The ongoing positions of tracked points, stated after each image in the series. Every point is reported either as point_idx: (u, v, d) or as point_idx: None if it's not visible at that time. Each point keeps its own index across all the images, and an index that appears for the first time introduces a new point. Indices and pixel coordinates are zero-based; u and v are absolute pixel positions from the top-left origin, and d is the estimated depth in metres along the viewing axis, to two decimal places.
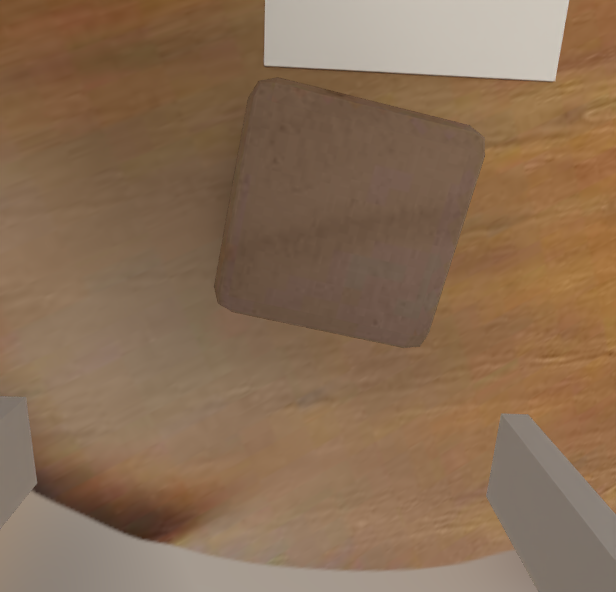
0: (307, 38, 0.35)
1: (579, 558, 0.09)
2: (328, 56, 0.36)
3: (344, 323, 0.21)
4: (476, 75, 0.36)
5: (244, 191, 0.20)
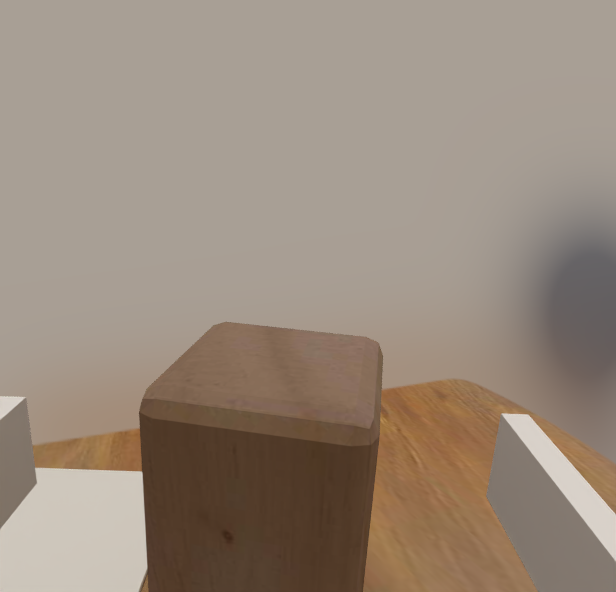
0: None
1: (579, 558, 0.09)
2: None
3: (365, 360, 0.23)
4: None
5: (243, 403, 0.19)
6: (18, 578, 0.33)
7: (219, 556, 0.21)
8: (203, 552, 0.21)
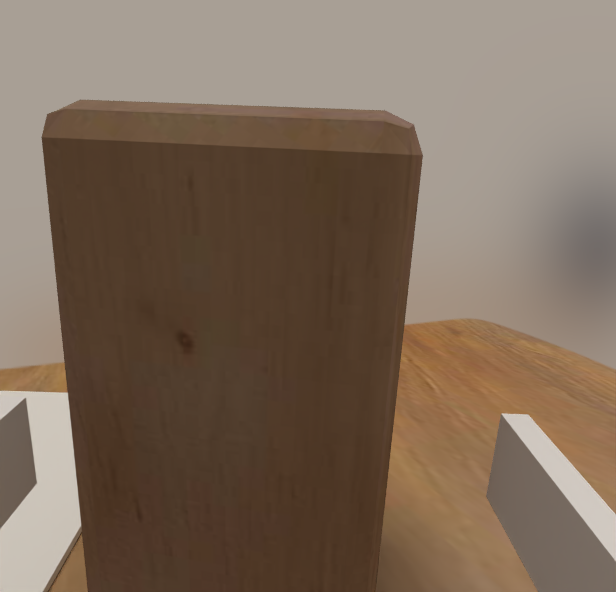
0: None
1: (579, 558, 0.09)
2: (26, 585, 0.21)
3: None
4: None
5: (204, 109, 0.12)
6: None
7: (173, 377, 0.13)
8: (149, 373, 0.14)
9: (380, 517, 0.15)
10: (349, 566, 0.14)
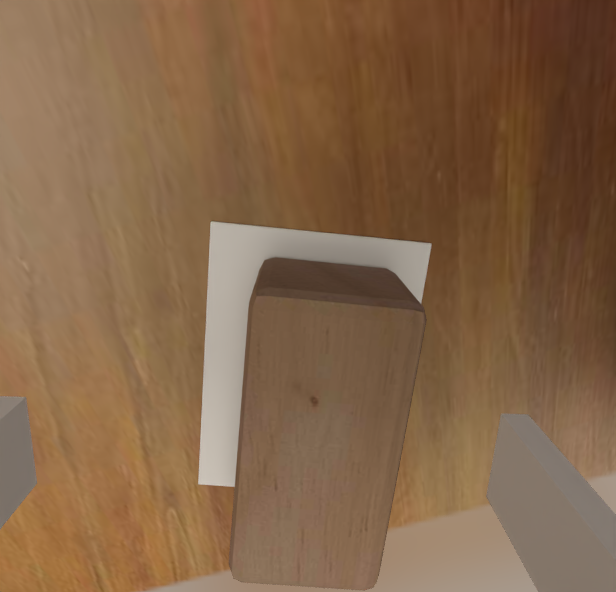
0: (235, 267, 0.35)
1: (579, 558, 0.09)
2: (219, 287, 0.36)
3: (396, 279, 0.32)
4: (202, 420, 0.39)
5: (333, 297, 0.26)
6: None
7: (305, 417, 0.28)
8: (293, 416, 0.28)
9: (396, 480, 0.30)
10: (382, 504, 0.30)
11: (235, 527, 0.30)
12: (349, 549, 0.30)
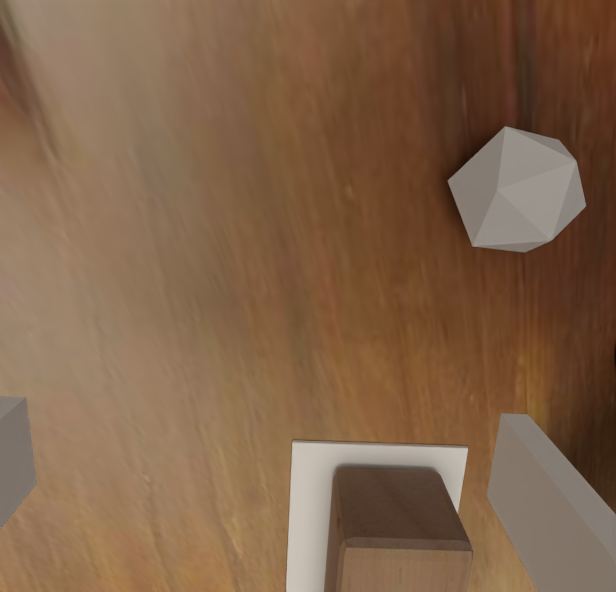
0: (312, 472, 0.44)
1: (579, 558, 0.09)
2: (299, 487, 0.45)
3: (444, 495, 0.41)
4: (287, 583, 0.48)
5: (403, 544, 0.35)
6: None
7: None
8: None
9: None
10: None
11: None
12: None
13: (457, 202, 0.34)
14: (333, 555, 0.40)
